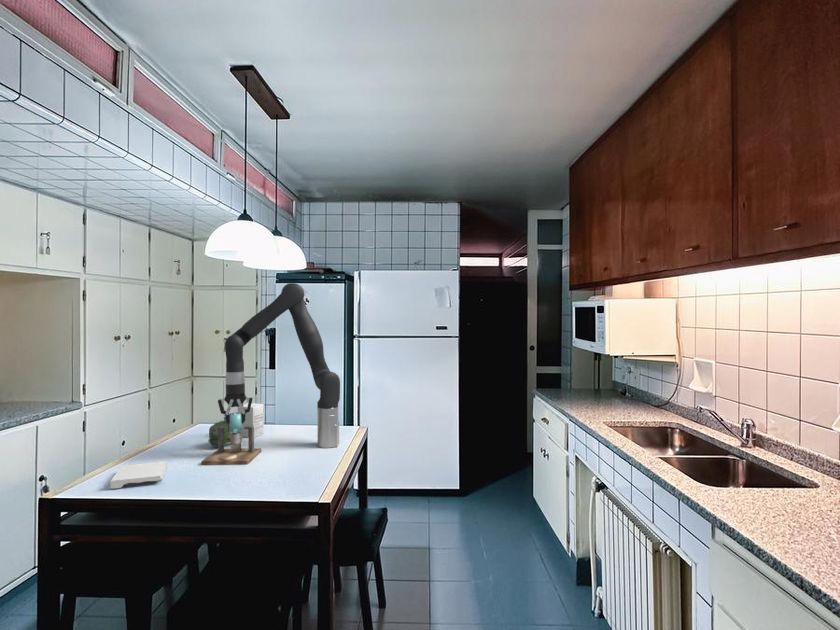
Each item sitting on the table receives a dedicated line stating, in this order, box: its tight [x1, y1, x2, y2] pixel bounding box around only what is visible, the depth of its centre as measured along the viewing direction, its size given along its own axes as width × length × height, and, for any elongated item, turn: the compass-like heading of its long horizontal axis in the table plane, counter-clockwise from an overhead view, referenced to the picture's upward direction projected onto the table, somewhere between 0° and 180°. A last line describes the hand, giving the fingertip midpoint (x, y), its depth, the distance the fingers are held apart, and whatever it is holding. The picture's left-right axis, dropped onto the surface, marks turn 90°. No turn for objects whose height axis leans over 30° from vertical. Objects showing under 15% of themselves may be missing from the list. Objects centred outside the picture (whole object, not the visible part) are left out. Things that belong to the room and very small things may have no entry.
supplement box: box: [237, 402, 265, 439], centre depth 239 cm, size 9×9×15 cm
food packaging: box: [109, 461, 168, 489], centre depth 177 cm, size 15×3×20 cm
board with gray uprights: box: [200, 426, 262, 466], centre depth 201 cm, size 18×18×12 cm
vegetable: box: [208, 420, 244, 449], centre depth 220 cm, size 12×13×15 cm
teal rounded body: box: [229, 411, 242, 433], centre depth 205 cm, size 9×5×7 cm, turn 19°
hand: (235, 422), depth 205 cm, fingers closed on teal rounded body, 5 cm apart
